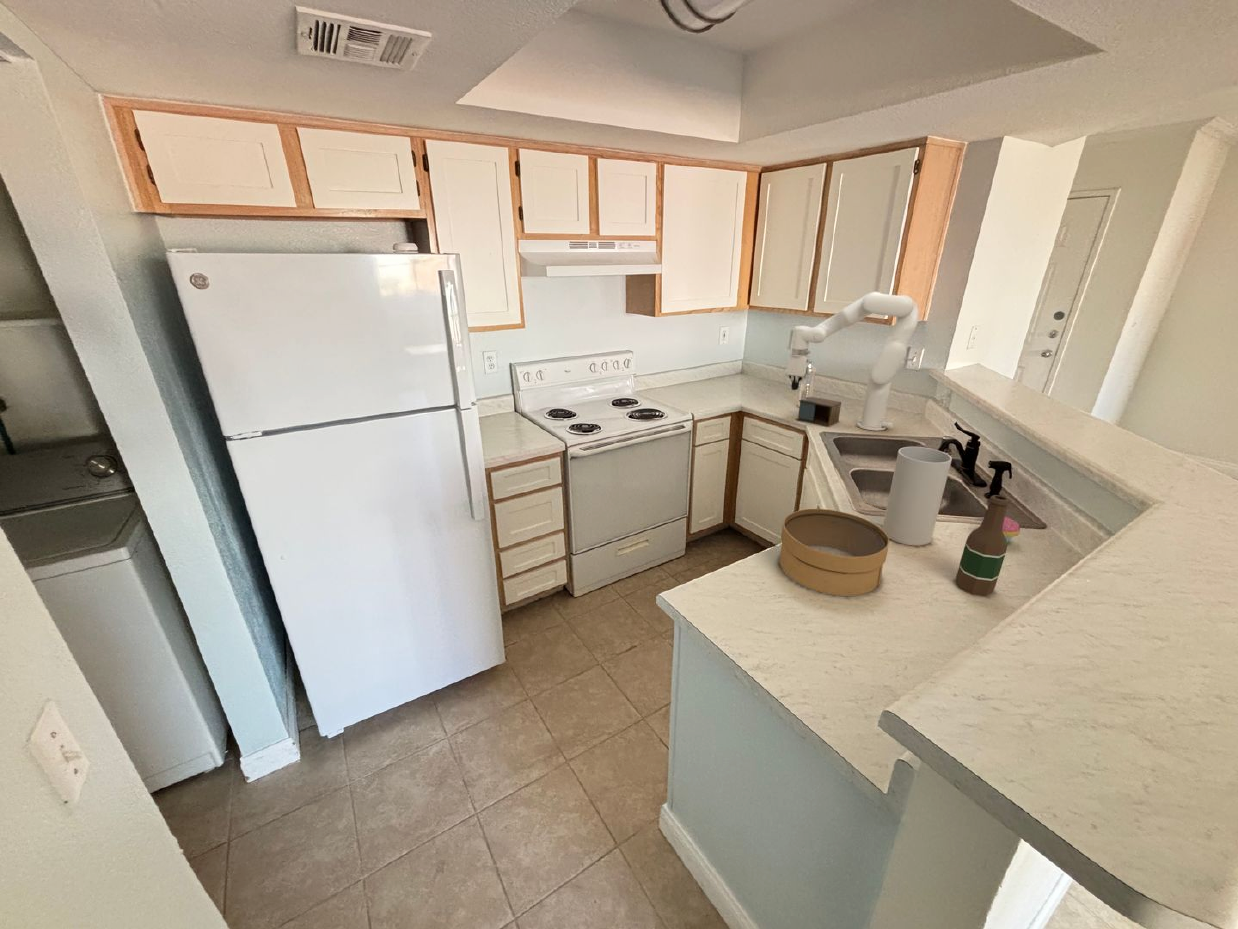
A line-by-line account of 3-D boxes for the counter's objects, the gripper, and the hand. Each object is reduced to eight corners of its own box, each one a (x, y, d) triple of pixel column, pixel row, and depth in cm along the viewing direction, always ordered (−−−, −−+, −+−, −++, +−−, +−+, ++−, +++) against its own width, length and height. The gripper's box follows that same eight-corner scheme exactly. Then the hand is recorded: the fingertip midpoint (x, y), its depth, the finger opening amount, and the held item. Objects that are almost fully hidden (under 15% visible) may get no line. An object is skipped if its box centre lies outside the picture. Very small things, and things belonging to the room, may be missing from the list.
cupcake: (975, 540, 141) (986, 502, 137) (982, 529, 147) (993, 492, 143) (1012, 551, 136) (1025, 512, 131) (1018, 540, 141) (1031, 502, 137)
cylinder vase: (892, 521, 153) (909, 443, 143) (937, 536, 144) (958, 454, 134) (874, 535, 145) (890, 454, 136) (921, 552, 136) (942, 466, 127)
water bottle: (808, 409, 270) (814, 362, 260) (795, 407, 274) (801, 361, 264) (812, 406, 275) (818, 360, 265) (800, 404, 279) (805, 359, 269)
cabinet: (827, 426, 241) (830, 406, 237) (796, 420, 251) (799, 400, 248) (838, 421, 248) (841, 401, 245) (807, 415, 259) (810, 396, 255)
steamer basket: (870, 549, 138) (878, 512, 133) (892, 605, 115) (901, 563, 111) (776, 538, 144) (781, 503, 139) (780, 589, 121) (785, 549, 117)
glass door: (812, 421, 246) (816, 393, 241) (798, 417, 252) (801, 390, 246) (813, 420, 247) (817, 393, 242) (798, 417, 252) (802, 390, 247)
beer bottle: (952, 588, 121) (978, 499, 112) (956, 574, 126) (981, 487, 117) (992, 601, 116) (1021, 508, 107) (994, 585, 122) (1022, 495, 113)
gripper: (817, 353, 240) (812, 390, 247) (788, 349, 250) (784, 385, 257) (810, 355, 235) (805, 393, 242) (781, 351, 245) (777, 388, 252)
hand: (794, 389), depth 249 cm, fingers closed
